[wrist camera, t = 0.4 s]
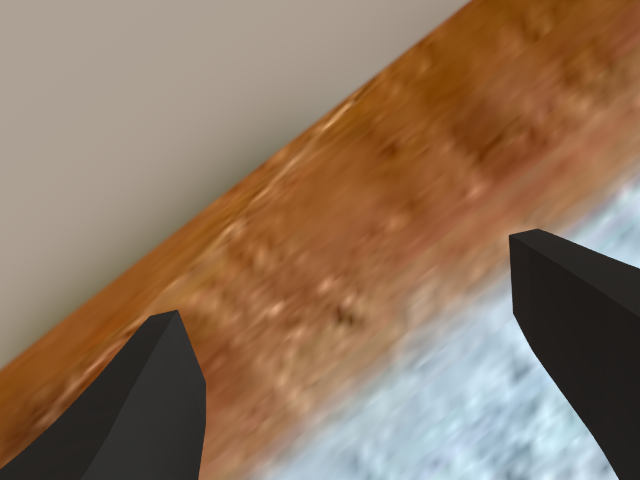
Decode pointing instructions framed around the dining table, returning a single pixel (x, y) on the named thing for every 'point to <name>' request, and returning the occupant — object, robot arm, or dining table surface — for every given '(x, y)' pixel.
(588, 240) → the dining table surface
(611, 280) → the robot arm
